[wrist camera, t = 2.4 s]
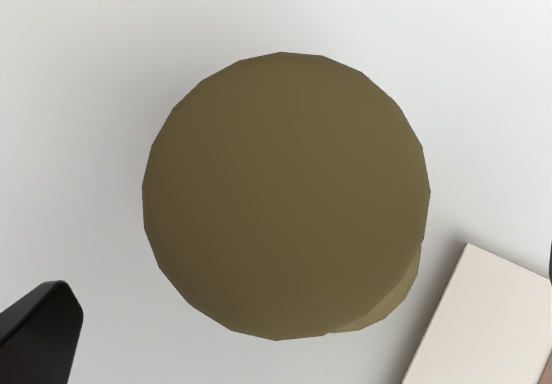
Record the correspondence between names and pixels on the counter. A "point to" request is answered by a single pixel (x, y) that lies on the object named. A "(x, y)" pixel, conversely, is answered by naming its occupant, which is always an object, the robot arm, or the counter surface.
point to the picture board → (487, 326)
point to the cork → (287, 198)
